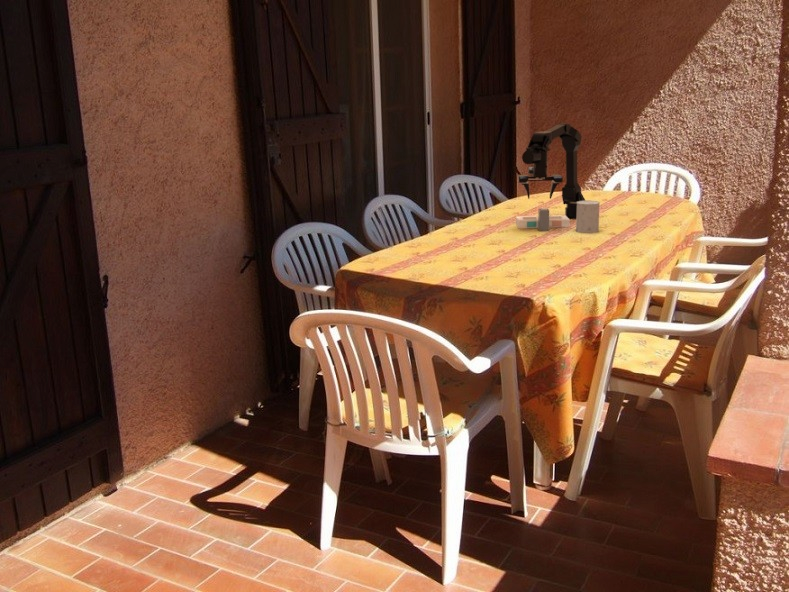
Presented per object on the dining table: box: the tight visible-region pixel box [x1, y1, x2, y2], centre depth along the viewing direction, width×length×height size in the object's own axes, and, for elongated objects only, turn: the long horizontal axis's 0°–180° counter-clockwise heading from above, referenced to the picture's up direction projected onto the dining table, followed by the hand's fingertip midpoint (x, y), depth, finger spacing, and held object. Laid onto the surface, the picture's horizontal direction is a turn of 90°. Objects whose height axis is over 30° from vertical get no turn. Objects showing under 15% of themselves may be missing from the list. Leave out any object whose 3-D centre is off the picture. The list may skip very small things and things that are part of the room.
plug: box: [537, 207, 550, 232], centre depth 378 cm, size 4×4×10 cm
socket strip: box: [515, 214, 571, 230], centre depth 388 cm, size 22×10×4 cm, turn 90°
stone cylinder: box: [575, 200, 600, 234], centre depth 373 cm, size 10×10×12 cm
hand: (539, 198), depth 380 cm, fingers open, 9 cm apart
